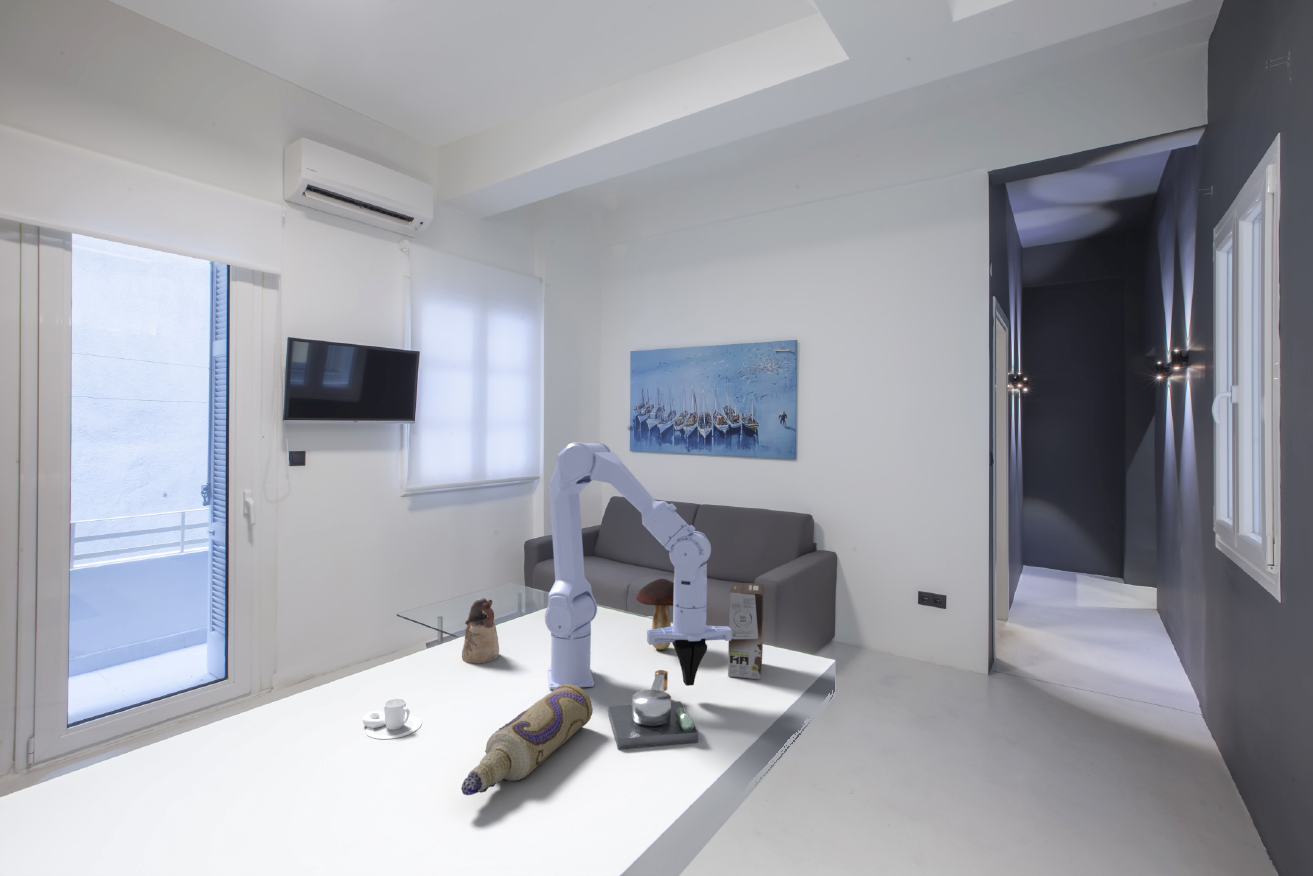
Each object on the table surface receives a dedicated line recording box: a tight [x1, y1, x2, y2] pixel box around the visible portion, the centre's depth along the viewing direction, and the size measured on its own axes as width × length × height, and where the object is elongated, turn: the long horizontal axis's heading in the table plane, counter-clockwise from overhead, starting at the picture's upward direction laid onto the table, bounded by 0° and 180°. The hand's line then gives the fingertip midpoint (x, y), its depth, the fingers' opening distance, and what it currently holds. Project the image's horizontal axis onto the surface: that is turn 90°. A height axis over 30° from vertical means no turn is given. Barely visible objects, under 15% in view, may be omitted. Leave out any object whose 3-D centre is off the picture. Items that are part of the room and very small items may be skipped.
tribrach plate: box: [607, 700, 699, 750], centre depth 97 cm, size 11×12×4 cm
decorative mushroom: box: [635, 578, 674, 651], centre depth 133 cm, size 11×11×15 cm
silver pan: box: [631, 669, 672, 726], centre depth 102 cm, size 15×6×3 cm, turn 172°
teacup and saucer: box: [362, 698, 423, 740], centre depth 97 cm, size 9×8×4 cm
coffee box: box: [727, 582, 764, 680], centre depth 122 cm, size 9×6×16 cm
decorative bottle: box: [460, 684, 594, 796], centre depth 86 cm, size 26×8×7 cm, turn 157°
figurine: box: [461, 597, 500, 664], centre depth 127 cm, size 7×7×12 cm
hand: (688, 683), depth 108 cm, fingers closed
